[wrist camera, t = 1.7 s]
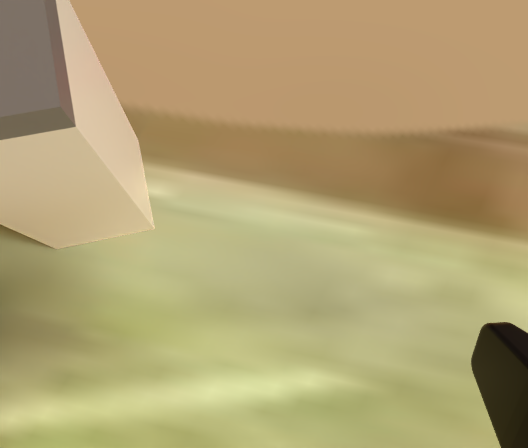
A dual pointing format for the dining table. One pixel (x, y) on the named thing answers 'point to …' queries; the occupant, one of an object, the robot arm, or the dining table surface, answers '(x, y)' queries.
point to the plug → (63, 134)
